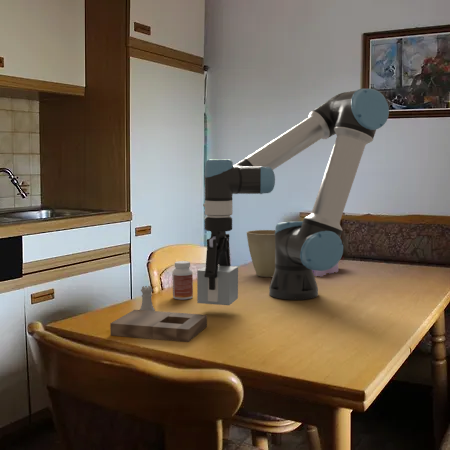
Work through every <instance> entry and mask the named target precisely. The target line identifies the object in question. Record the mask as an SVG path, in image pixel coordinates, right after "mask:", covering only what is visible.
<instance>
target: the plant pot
mask: <svg viewBox="0 0 450 450" xmlns="http://www.w3.org/2000/svg"><path fill="white" fill-rule="evenodd" d="M246 239H247V247H248V251H249V254H250V258H251V261H252V262H251V263H252V265H253V269H254V270H255V271H254V272H255V274H256V276H258V277H263V278H264V277H265V278H271V277H272V278H273V275H274V272H275V229H255V230H249V231H246Z"/></svg>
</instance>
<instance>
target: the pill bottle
mask: <svg viewBox="0 0 450 450" xmlns="http://www.w3.org/2000/svg"><path fill="white" fill-rule="evenodd" d="M174 267H175V269H173V271H172V298H173V299H175V300H183V301H184V300H190V299H192V298H193V296H194V286H193V285H194V282H193V281H194V279H193V278H194V277H193V274H194V273H193V270H192V269H191V268H190V267H191V261H187V260H185V261H184V260H180V261H175V262H174Z"/></svg>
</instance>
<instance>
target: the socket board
mask: <svg viewBox="0 0 450 450" xmlns="http://www.w3.org/2000/svg"><path fill="white" fill-rule="evenodd" d="M109 327H110V336H114V337H126V338H138V339H150V340H151V339H152V340H162V341H176V342H183V343H184V342H186V343H189V342H190V341H192V340H193V339H194V338H195V337H196V336H198V333H199V334H200V333H201V332H202V331H203V330H204V329H206V328H207V327H208V315H207V314H200V313H188V312H187V313H186V312H171V311H157V310H155V311H145V310H139V309H133V310H131V311H130V312H128V313H126V314H124V315H122V316H121V317H119V318H117V319H115V320H114V321H112V322H110V325H109ZM191 339H192V340H191Z"/></svg>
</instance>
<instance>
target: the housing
mask: <svg viewBox="0 0 450 450" xmlns="http://www.w3.org/2000/svg"><path fill="white" fill-rule="evenodd" d="M205 269H206V265H205V266H203V267H201V268H199V269H197V272H196V273H197V275H196V276H197V278H196V279H197V283H196V285H197V287H196V288H197V289H196V291H197V292H196V293H197V294H196V296H197V297H196V301H197V304H205V305H219V306H231V305H232V304H233V303H234V302H235V301H237V300H238V298H239V266H236V265H234V266H232V265H231V266H218V273H217V277H218V302H212V301H208V277H205V276H204V275H205Z"/></svg>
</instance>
